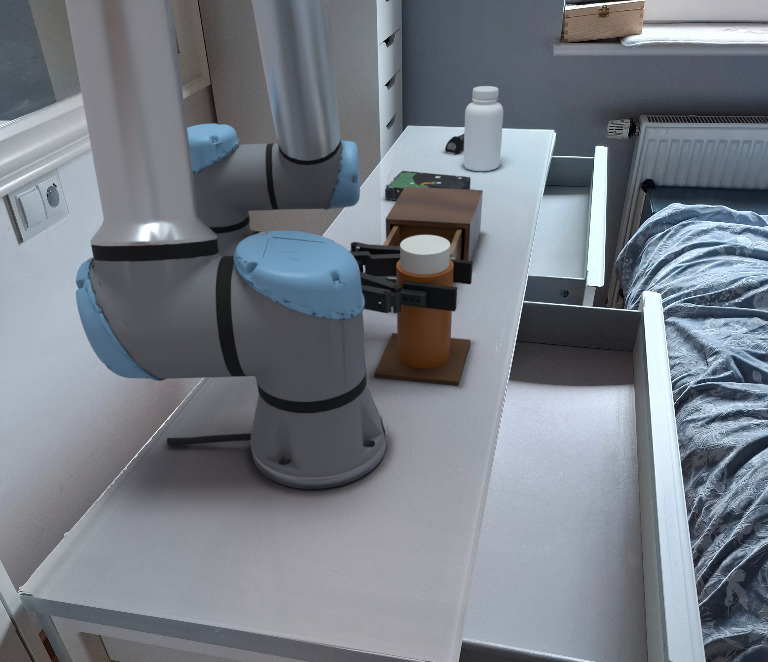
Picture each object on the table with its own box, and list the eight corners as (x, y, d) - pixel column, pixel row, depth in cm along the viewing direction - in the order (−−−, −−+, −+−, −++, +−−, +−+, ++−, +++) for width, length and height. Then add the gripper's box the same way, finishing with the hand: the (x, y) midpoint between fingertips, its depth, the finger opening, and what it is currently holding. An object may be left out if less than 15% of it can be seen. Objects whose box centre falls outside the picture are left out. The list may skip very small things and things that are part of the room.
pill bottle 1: (407, 373, 92) (406, 259, 82) (391, 347, 97) (388, 237, 87) (457, 363, 94) (463, 251, 84) (439, 339, 99) (442, 230, 89)
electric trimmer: (492, 139, 172) (493, 124, 170) (457, 154, 163) (457, 139, 161) (479, 137, 174) (480, 122, 172) (443, 152, 165) (444, 137, 163)
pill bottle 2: (487, 158, 160) (492, 82, 150) (506, 168, 155) (512, 90, 144) (456, 164, 158) (459, 87, 148) (474, 174, 152) (478, 94, 142)
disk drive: (470, 191, 145) (401, 183, 149) (471, 176, 143) (401, 169, 147) (456, 208, 138) (384, 200, 142) (456, 193, 136) (384, 185, 140)
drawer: (448, 311, 104) (449, 272, 100) (366, 304, 106) (364, 266, 103) (466, 259, 118) (468, 223, 114) (393, 254, 120) (392, 219, 116)
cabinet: (467, 270, 116) (470, 223, 111) (386, 265, 119) (385, 218, 114) (480, 234, 128) (482, 190, 123) (405, 230, 130) (405, 186, 125)
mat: (458, 385, 91) (458, 381, 90) (374, 377, 93) (374, 373, 93) (470, 343, 99) (470, 339, 98) (392, 336, 101) (392, 332, 100)
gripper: (324, 263, 103) (480, 281, 97) (263, 327, 89) (441, 352, 83) (319, 209, 98) (484, 225, 92) (254, 268, 84) (443, 291, 78)
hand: (463, 285), depth 87 cm, fingers closed on pill bottle 1, 7 cm apart
